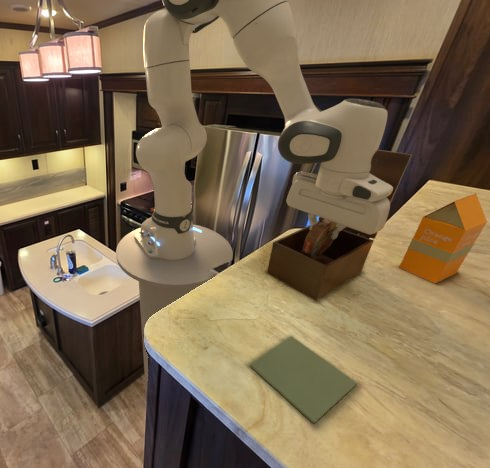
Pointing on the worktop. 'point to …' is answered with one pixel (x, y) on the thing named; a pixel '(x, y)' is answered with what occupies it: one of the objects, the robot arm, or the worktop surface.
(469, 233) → the orange juice
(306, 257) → the brown open box
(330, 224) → the tin
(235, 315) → the worktop surface
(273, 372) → the mat
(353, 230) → the lid
